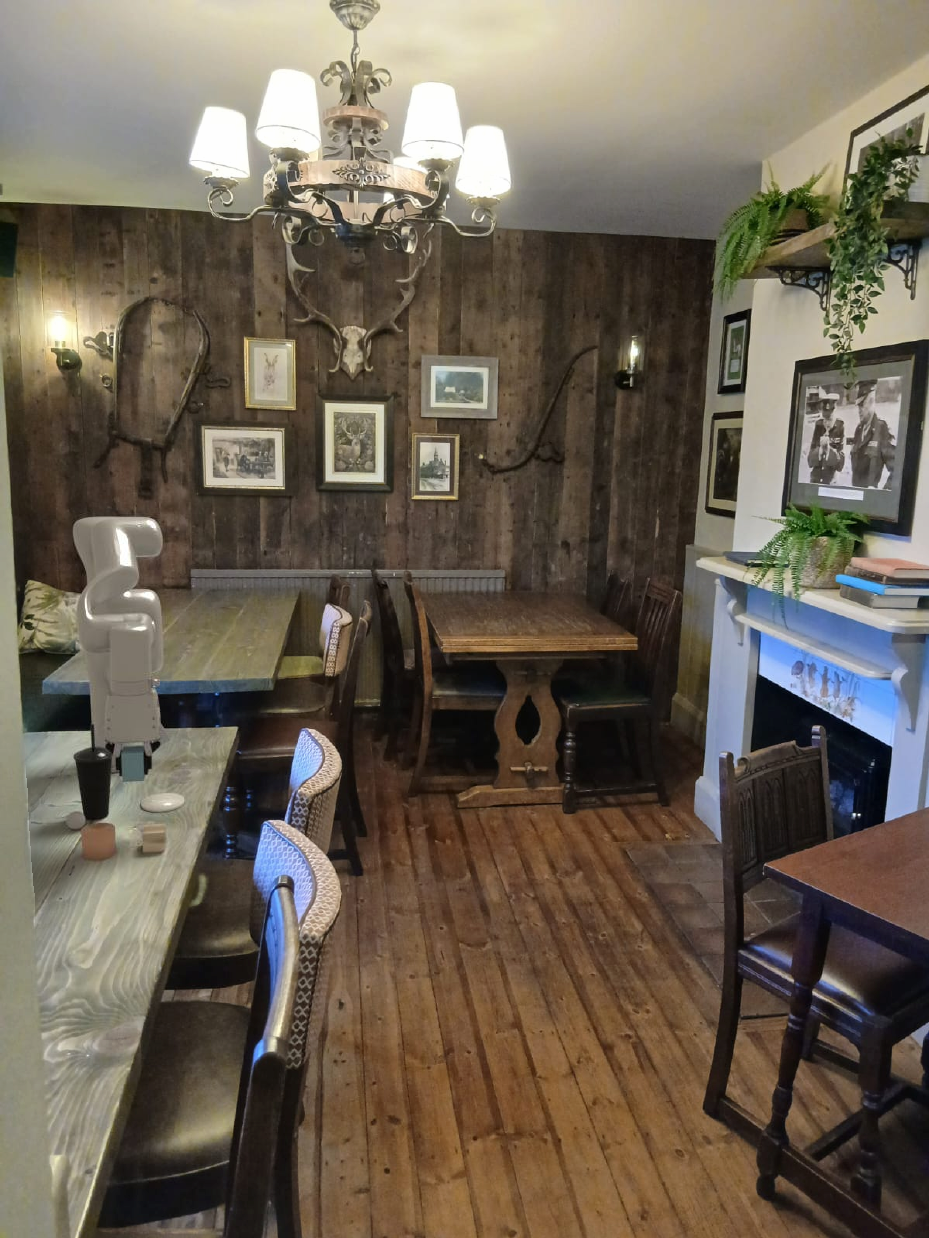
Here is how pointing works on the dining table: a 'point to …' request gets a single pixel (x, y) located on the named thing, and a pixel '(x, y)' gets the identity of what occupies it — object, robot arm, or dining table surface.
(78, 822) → the grey ball
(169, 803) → the cream shiny round part
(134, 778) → the teal block
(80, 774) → the drinking cup
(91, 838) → the peach cylinder
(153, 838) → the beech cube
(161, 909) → the dining table surface
